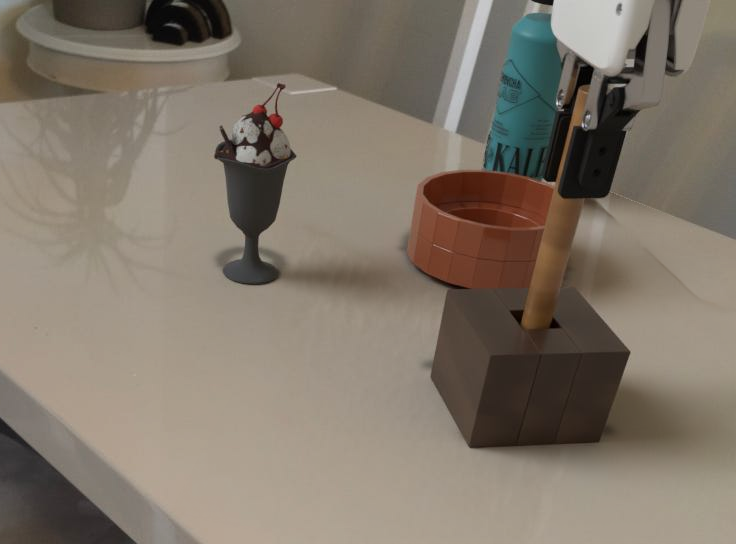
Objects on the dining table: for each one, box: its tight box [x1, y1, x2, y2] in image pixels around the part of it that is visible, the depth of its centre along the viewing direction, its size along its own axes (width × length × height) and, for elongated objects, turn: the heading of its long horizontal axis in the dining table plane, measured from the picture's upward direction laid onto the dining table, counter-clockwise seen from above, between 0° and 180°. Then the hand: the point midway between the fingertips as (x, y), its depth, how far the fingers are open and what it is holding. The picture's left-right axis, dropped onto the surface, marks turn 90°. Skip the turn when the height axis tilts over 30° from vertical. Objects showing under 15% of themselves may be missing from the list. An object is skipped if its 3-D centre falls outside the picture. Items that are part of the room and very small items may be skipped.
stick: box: [520, 85, 612, 330], centre depth 64 cm, size 2×2×18 cm
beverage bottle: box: [480, 0, 562, 182], centre depth 96 cm, size 6×7×20 cm
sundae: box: [213, 82, 298, 285], centre depth 81 cm, size 7×7×15 cm
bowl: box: [406, 169, 555, 289], centre depth 88 cm, size 14×14×6 cm
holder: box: [430, 286, 631, 448], centre depth 70 cm, size 10×10×7 cm
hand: (574, 186), depth 61 cm, fingers closed on stick, 2 cm apart
